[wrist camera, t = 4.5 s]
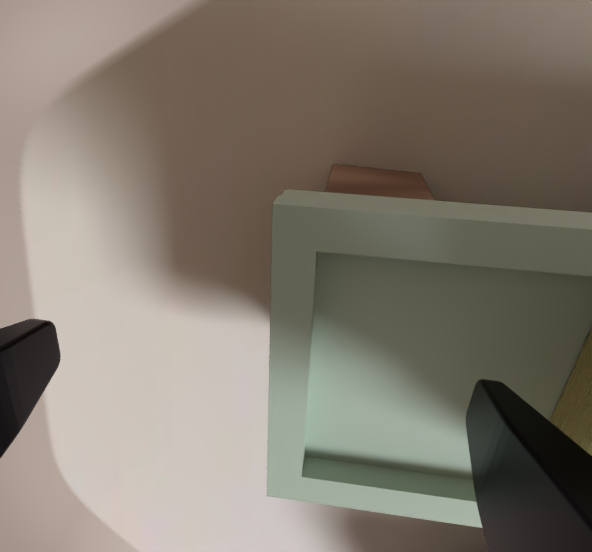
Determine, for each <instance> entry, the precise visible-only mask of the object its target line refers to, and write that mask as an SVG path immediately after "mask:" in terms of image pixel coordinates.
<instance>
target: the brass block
mask: <svg viewBox="0 0 592 552" xmlns="http://www.w3.org/2000/svg"><path fill="white" fill-rule="evenodd" d="M550 422H551V423H553V424H554V425H555V426H556V427H557V428H559V429H560V430H561V431H562V432H563V433H565V434H566V435H567V436H568V437H570V438H571V439H572V440H573V441H574V442H576V443H577V444H578V445H579V446H580V447H582V448H583V449H584V450H585V451H587V452H588V453H589V454H590V455H591V456H592V330H591V332H590V334H589V336H588V338H587V340H586V343H585V345H584V347H583V349H582V351H581V353H580V356H579V358H578V360H577V362H576V364H575V366H574V369H573V371H572V373H571V375H570V377H569V380H568V382H567V384H566V386H565V388H564V390H563V393H562V395H561V397H560V399H559V401H558V403H557V406H556V408H555V410H554V412H553V414H552V416H551V419H550Z"/></svg>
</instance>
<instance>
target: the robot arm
mask: <svg viewBox="0 0 592 552" xmlns="http://www.w3.org/2000/svg"><path fill="white" fill-rule="evenodd" d="M59 363H60V350H59V344H58V339H57V333H56V328H55V325H54V324H53V323H52V322H51V321H46V320H39V319H28V320H25V321H22V322H19V323H16V324H13V325H10V326H7V327H4V328H1V329H0V458H1V457H2V455H3V454H4V453H5V451H6V450H7V449H8V447H9V446H10V445H11V443H12V442H13V440H14V439H15V437H16V436H17V435H18V433H19V432H20V430H21V429H22V427H23V425H24V424H25V422H26V421H27V419H28V417H29V416H30V414H31V412H32V410H33V409H34V407H35V405H36V404H37V402H38V400H39V399H40V397H41V395H42V393H43V392H44V390H45V388H46V387H47V385H48V383H49V382H50V380H51V378H52V376H53V375H54V373H55V371H56V370H57V368H58V366H59ZM466 431H467V438H468V446H469V453H470V461H471V468H472V476H473V484H474V491H475V497H476V503H477V507H478V512H479V516H480V520H481V524H482V528H483V532H484V536H485V540H486V544H487V548H488V552H592V456H591V455H590V454H589V453H588V452H587V451H585V450H584V449H583V448H582V447H580V446H579V445H578V444H577V443H576V442H574V441H573V440H572V439H571V438H570V437H568V436H567V435H566V434H565V433H563V432H562V431H561V430H560V429H559V428H557V427H556V426H555V425H554V424H553V423H551V422H550V421H549V420H548V419H546V418H545V417H544V416H543V415H542V414H540V413H539V412H538V411H537V410H536V409H534V408H533V407H532V406H531V405H529V404H528V403H527V402H526V401H525V400H523V399H522V398H521V397H520V396H519V395H517V394H516V393H515V392H514V391H512V390H511V389H510V388H509V387H508V386H506V385H505V384H504V383H502V382H500V381H495V380H487V379H480V380H478V381H477V382H476V384H475V387H474V390H473V393H472V396H471V399H470V403H469V406H468V409H467V412H466Z"/></svg>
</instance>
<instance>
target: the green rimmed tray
mask: <svg viewBox="0 0 592 552" xmlns="http://www.w3.org/2000/svg"><path fill="white" fill-rule="evenodd" d="M591 330H592V213H591V212H578V211H565V210H552V209H539V208H526V207H513V206H500V205H487V204H474V203H461V202H448V201H435V200H422V199H409V198H396V197H383V196H370V195H357V194H344V193H331V192H318V191H305V190H292V189H285V190H284V192H283V193H282V195H278V196H277V198H276V199H275V201H274V202H273V208H272V257H271V306H270V356H269V405H268V454H267V496H270V497H277V498H283V499H290V500H297V501H303V502H310V503H317V504H324V505H330V506H337V507H344V508H351V509H357V510H364V511H371V512H378V513H384V514H391V515H398V516H405V517H411V518H418V519H425V520H432V521H438V522H445V523H452V524H459V525H465V526H472V527H479V528H482V524H481V520H480V516H479V512H478V507H477V503H476V497H475V491H474V484H473V476H472V468H471V461H470V453H469V446H468V438H467V431H466V412H467V409H468V406H469V403H470V399H471V396H472V393H473V390H474V387H475V384H476V382H477V381H478V380H480V379H487V380H495V381H500V382H502V383H504V384H505V385H506V386H508V387H509V388H510V389H511V390H512V391H514V392H515V393H516V394H517V395H519V396H520V397H521V398H522V399H523V400H525V401H526V402H527V403H528V404H529V405H531V406H532V407H533V408H534V409H536V410H537V411H538V412H539V413H540V414H542V415H543V416H544V417H545V418H546V419H548V420H549V421H550V419H551V416H552V414H553V412H554V410H555V408H556V406H557V403H558V401H559V399H560V397H561V395H562V393H563V390H564V388H565V386H566V384H567V382H568V380H569V377H570V375H571V373H572V371H573V369H574V366H575V364H576V362H577V360H578V358H579V356H580V353H581V351H582V349H583V347H584V345H585V343H586V340H587V338H588V336H589V334H590V332H591Z"/></svg>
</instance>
